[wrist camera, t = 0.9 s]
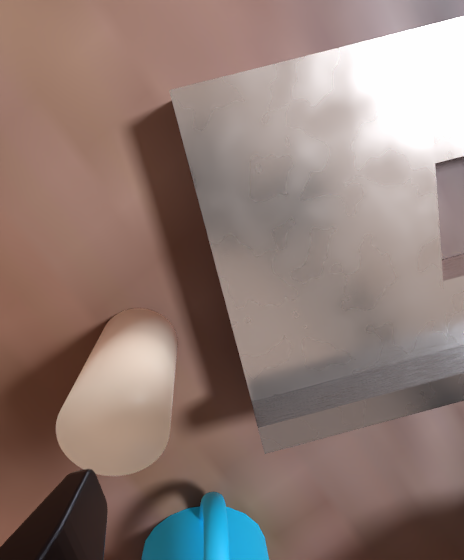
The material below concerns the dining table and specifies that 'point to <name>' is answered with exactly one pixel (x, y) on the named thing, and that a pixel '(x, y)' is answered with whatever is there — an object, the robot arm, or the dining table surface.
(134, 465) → the cream domed knob
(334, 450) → the dining table surface
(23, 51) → the dining table surface
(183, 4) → the dining table surface
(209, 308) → the dining table surface
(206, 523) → the mug
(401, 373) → the jig
